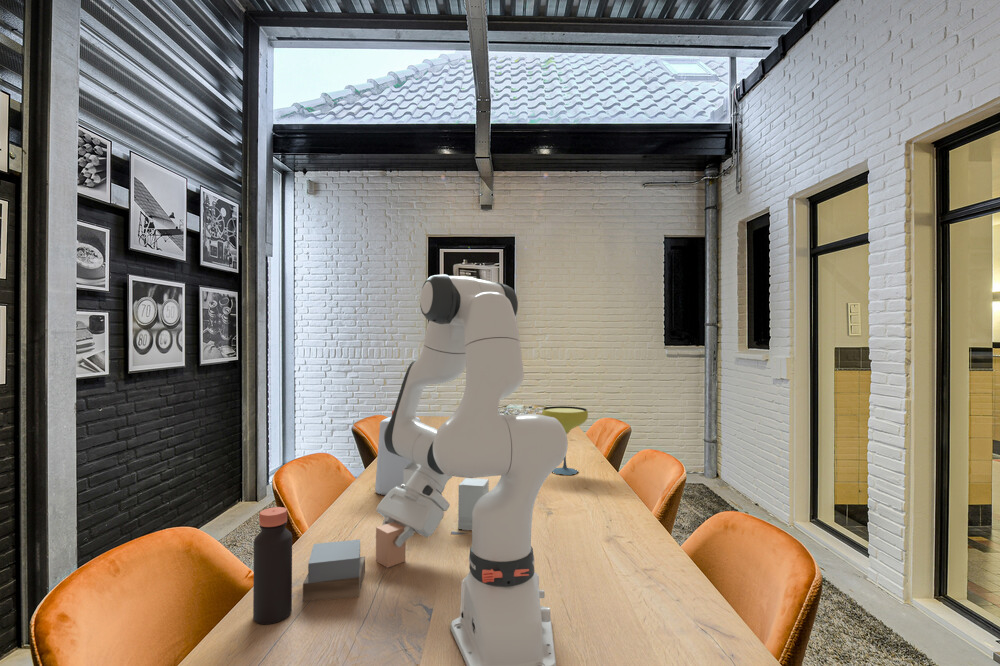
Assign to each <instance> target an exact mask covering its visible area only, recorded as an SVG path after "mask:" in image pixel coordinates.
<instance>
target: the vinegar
mask: <svg viewBox="0 0 1000 666" xmlns="http://www.w3.org/2000/svg"><path fill="white" fill-rule="evenodd" d="M258 520H259V528H260V529H261V530H260V532H259V533H258V534H257V535H256V536H255V537H254V539H253V590H252V593H253V599H252V600H253V602H252V603H253V605H252V606H253V607H252V608H253V609H252V611H253V612H252V614H253V615H252V617H253V621H254V622H255V623H257V624H260V625H271V624H276V623H279V622H281V621H283V620H285V619H287V618H288V617H289V616H290V615H291V613H292V611H293V609H292V608H293V606H292V604H293V603H292V602H293V534H292V532H291V531H290V530H289V529H287V528H286V526H287V523H288V509H287V508H286V507H282V506H274V507H270V508H269V507H268V508H266V509H263V510H261V511H260V512H259V519H258Z"/></svg>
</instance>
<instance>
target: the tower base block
mask: <svg viewBox="0 0 1000 666" xmlns="http://www.w3.org/2000/svg"><path fill="white" fill-rule="evenodd" d="M365 573H366V556H360V573H359V577H357V578H349V579H340V580H332V581H324V582H315V583H308V574H307V575H306V577H305V579H304V581H303V583H302V602H310V601H311V602H312V601H324V600H336V599H338V600H339V599H351V598H359V597H360V593H361V589H362V587H363V586H362V585H363V581H364V577H365Z"/></svg>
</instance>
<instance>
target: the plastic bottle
mask: <svg viewBox="0 0 1000 666" xmlns="http://www.w3.org/2000/svg"><path fill="white" fill-rule="evenodd" d="M393 412H394V409H393V410H392V411H391V416H389V417H386V418H384V419H383V420H381V421H380V422H379V433H378V434H379V435H378V446H377V447H378V448H377V460H376V470H375V471H376V473H375V474H376V475H375V487H374V488H375V489H374V490H375V493H377V494H378V495H380V494H381V495H382V496H386V495H387V493H388V492H389V491H390V490H391V489H393V488H395V487H396V486H398V485H400V484H404V468H405V467H407V466H408V465H409V464H410V463H411V462H412V461H410V460H408V459H406V458H404V457H401V456H398V455H395V454H393V453H390V452H389V451H388V450H387V448H386V446H385V442H384V433H385V430H386V427H387V425H388V423H389V421H390V419H391V417H392V415H393ZM416 418H417V420H418V421H419V422H421V423H422V421H421V418H419V416H416ZM381 495H380V496H381Z"/></svg>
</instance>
